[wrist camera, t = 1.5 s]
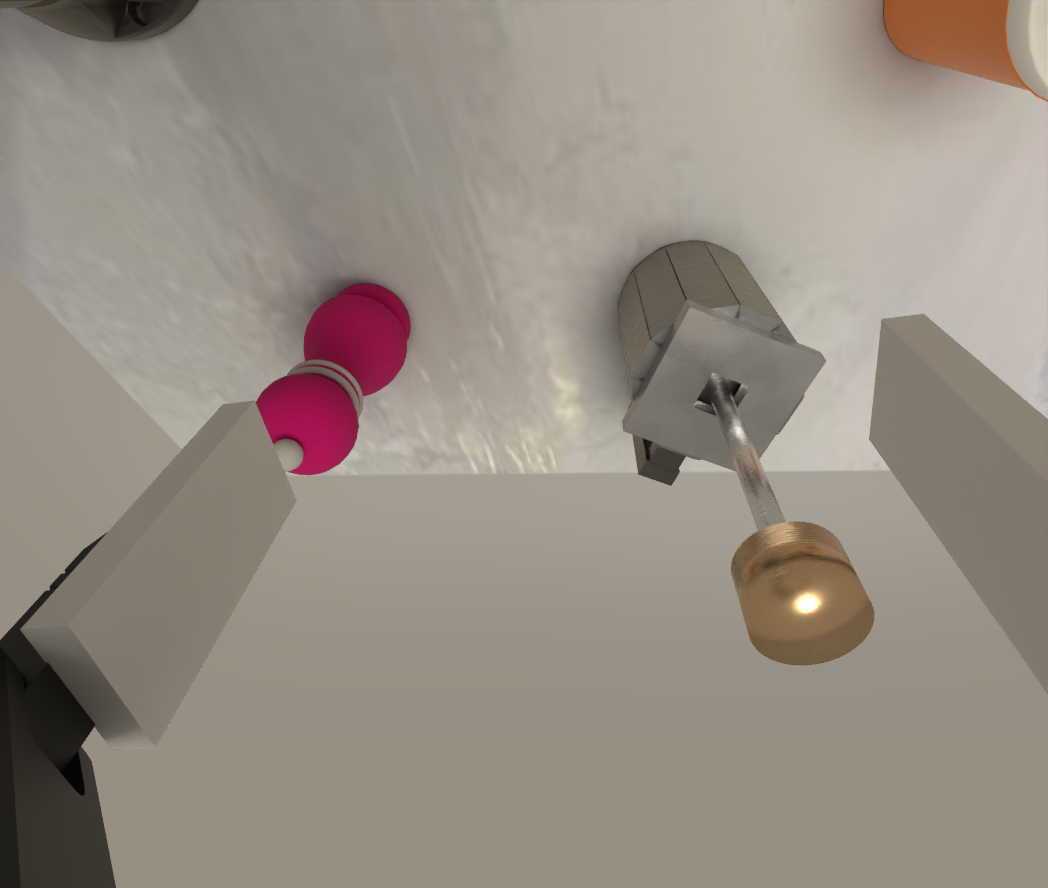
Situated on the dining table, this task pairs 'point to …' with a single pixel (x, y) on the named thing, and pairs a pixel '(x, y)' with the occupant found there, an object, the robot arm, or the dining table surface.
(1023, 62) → the shaker bottle
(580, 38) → the dining table surface
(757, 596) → the plunger
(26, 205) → the dining table surface
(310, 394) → the pepper mill
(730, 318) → the faceted grey canister
